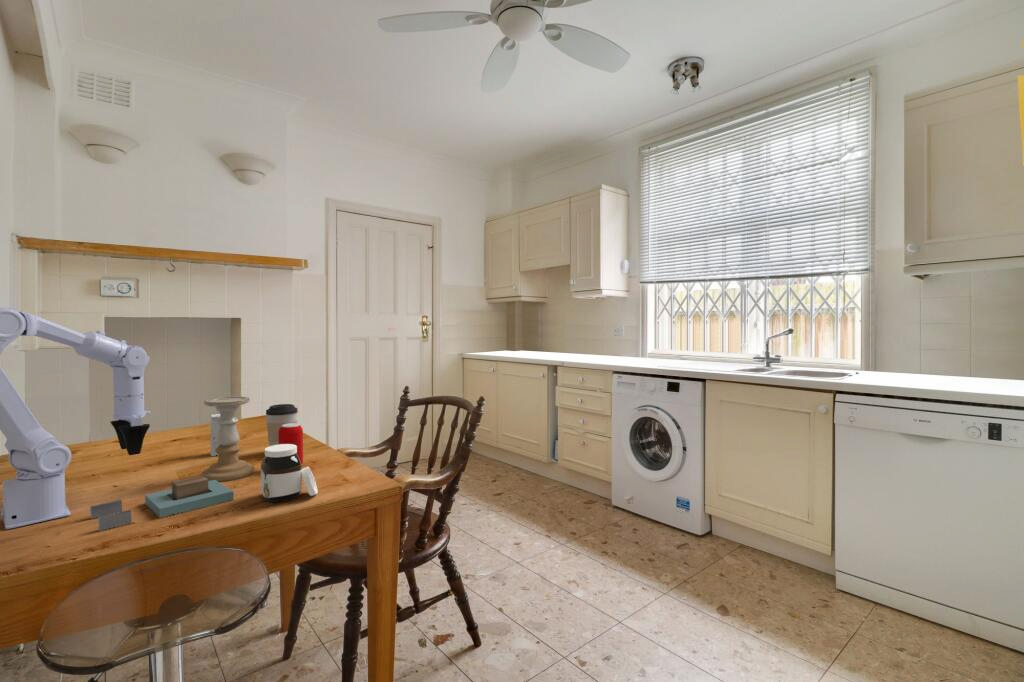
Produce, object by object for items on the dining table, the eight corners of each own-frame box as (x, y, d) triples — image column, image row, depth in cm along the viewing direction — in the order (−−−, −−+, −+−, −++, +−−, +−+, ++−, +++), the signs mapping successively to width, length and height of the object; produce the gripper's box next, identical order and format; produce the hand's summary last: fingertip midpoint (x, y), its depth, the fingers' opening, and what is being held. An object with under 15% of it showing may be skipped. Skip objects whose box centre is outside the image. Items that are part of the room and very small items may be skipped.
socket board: (160, 518, 100) (159, 508, 100) (145, 503, 108) (145, 494, 108) (233, 499, 111) (233, 491, 111) (215, 487, 119) (215, 479, 119)
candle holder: (257, 465, 137) (256, 394, 136) (250, 479, 126) (249, 401, 125) (207, 469, 133) (206, 396, 132) (195, 484, 121) (193, 404, 121)
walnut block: (208, 500, 111) (208, 479, 111) (177, 508, 106) (177, 485, 106) (202, 496, 113) (202, 475, 113) (172, 503, 109) (171, 481, 109)
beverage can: (280, 464, 138) (280, 423, 137) (304, 463, 140) (303, 421, 139) (277, 471, 132) (276, 427, 132) (302, 469, 134) (301, 426, 133)
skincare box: (210, 456, 145) (210, 416, 145) (210, 453, 149) (209, 414, 149) (234, 453, 149) (233, 414, 148) (233, 450, 152) (232, 412, 152)
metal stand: (99, 531, 94) (99, 518, 94) (90, 517, 100) (90, 506, 100) (131, 523, 98) (131, 511, 98) (120, 510, 104) (120, 499, 104)
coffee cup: (266, 450, 153) (266, 403, 152) (298, 447, 157) (297, 401, 156) (265, 457, 145) (264, 408, 144) (298, 454, 149) (298, 405, 148)
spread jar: (256, 495, 114) (256, 446, 114) (305, 484, 122) (304, 438, 122) (274, 509, 106) (273, 457, 105) (325, 496, 114) (325, 447, 113)
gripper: (157, 396, 114) (158, 453, 115) (142, 390, 124) (143, 443, 124) (119, 400, 109) (121, 459, 109) (106, 393, 118) (108, 448, 119)
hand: (130, 451), depth 117 cm, fingers open, 7 cm apart
